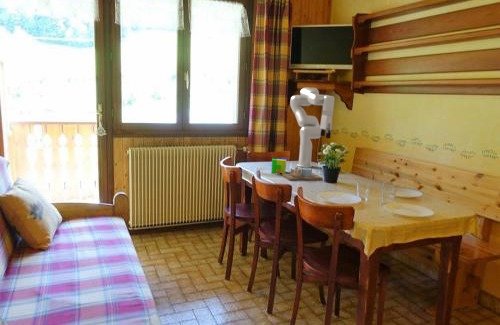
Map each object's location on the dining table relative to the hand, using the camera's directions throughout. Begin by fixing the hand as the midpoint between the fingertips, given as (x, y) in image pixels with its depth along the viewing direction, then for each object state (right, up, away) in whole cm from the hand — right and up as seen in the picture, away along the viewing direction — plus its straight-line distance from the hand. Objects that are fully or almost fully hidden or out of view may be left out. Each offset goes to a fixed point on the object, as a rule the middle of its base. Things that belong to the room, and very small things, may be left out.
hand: (325, 137), depth 284 cm
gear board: (-18, -29, -12) cm, 36 cm away
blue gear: (-15, -28, -11) cm, 34 cm away
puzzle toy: (-34, -26, +2) cm, 42 cm away
